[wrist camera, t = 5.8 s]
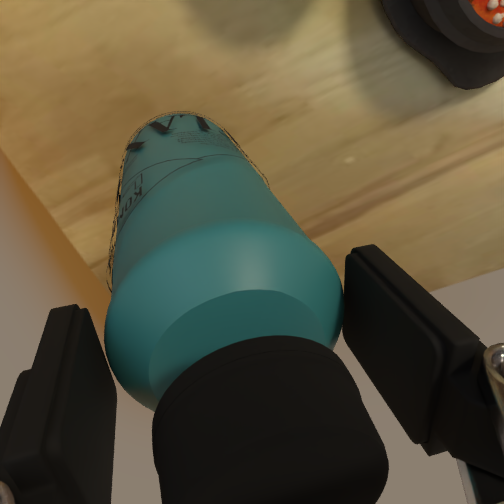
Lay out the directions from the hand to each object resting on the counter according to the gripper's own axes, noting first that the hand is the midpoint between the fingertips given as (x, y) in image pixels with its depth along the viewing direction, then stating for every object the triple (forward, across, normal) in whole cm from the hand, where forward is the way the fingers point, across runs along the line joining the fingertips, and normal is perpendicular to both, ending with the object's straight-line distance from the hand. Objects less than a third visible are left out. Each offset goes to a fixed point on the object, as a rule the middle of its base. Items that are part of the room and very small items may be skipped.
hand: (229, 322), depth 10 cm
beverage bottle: (+15, 0, 0) cm, 15 cm away
